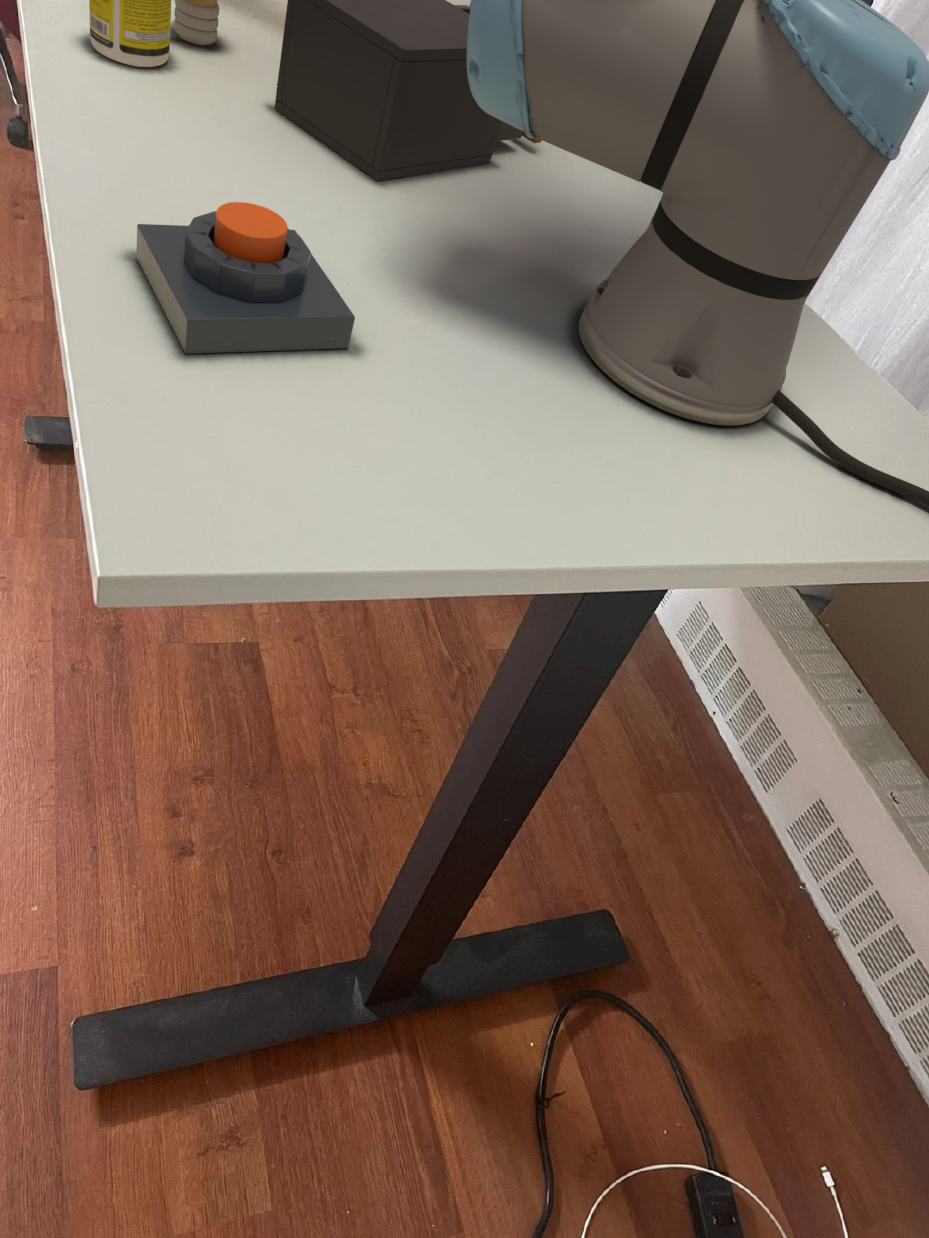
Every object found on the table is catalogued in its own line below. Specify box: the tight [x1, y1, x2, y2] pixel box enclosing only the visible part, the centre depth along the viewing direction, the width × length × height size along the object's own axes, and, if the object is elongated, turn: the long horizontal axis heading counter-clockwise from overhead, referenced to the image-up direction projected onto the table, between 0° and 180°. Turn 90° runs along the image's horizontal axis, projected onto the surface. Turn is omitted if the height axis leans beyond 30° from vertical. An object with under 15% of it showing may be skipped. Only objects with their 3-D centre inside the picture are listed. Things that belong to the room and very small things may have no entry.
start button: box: [214, 201, 289, 263], centre depth 52 cm, size 4×4×2 cm
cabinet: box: [274, 0, 502, 182], centre depth 75 cm, size 15×13×10 cm
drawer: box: [454, 0, 543, 144], centre depth 81 cm, size 15×11×8 cm
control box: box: [135, 210, 356, 355], centre depth 54 cm, size 10×10×4 cm
